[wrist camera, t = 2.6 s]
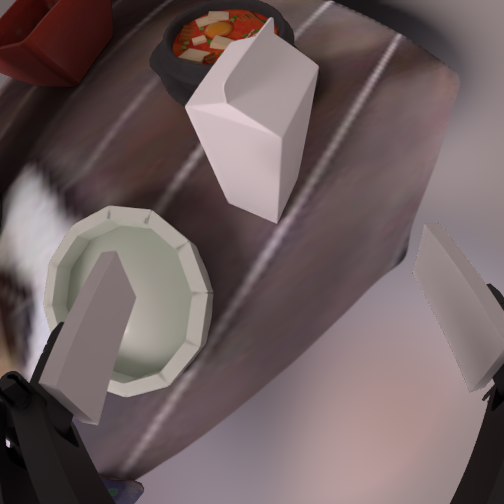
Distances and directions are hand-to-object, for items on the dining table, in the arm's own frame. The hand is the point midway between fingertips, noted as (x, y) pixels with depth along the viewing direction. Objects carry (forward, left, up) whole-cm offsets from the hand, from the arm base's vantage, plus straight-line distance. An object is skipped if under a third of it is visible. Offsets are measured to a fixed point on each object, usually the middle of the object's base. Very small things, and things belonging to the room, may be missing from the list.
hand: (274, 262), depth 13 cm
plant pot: (-49, -18, -21) cm, 56 cm away
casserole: (-29, +6, -21) cm, 36 cm away
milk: (-10, +3, -21) cm, 23 cm away
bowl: (-4, -16, -20) cm, 26 cm away
